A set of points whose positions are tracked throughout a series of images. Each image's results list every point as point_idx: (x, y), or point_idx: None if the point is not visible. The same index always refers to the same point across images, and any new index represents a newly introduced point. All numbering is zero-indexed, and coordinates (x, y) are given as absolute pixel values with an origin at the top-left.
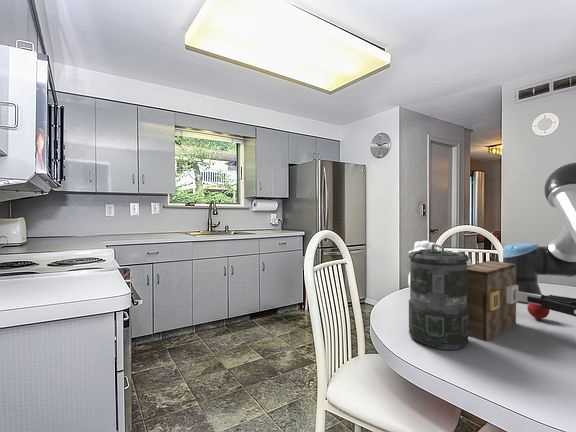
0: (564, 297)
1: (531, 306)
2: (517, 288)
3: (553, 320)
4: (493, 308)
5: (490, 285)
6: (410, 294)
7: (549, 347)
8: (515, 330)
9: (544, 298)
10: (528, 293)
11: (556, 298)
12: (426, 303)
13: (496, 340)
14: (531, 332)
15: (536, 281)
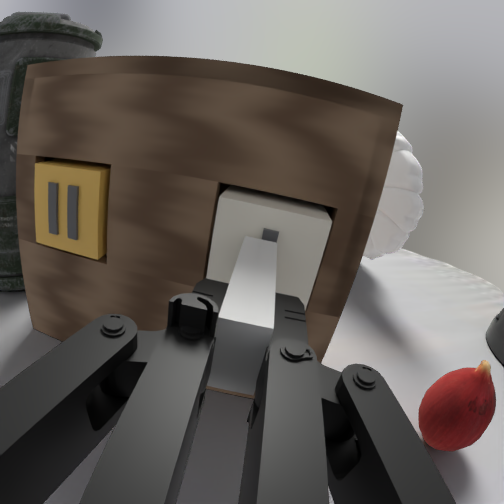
0: (412, 478)
1: (434, 388)
2: (313, 238)
3: (471, 468)
4: (47, 237)
5: (43, 126)
6: None
7: (59, 501)
8: (209, 411)
9: (162, 335)
10: (253, 268)
11: (264, 428)
12: None
13: (49, 351)
14: (233, 460)
15: None
